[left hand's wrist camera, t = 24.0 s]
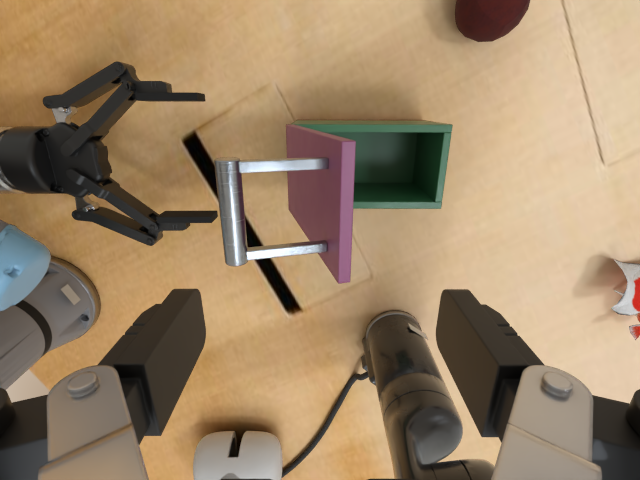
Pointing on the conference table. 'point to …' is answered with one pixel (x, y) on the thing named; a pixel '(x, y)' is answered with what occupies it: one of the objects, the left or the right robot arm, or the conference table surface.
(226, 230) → the lid
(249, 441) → the grey rounded lobed block
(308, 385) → the conference table surface
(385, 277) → the conference table surface
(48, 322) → the right robot arm
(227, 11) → the conference table surface
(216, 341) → the conference table surface
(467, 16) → the potato
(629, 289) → the fish
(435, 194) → the chest
